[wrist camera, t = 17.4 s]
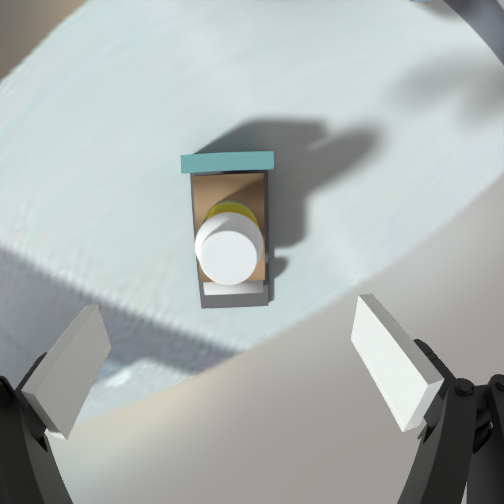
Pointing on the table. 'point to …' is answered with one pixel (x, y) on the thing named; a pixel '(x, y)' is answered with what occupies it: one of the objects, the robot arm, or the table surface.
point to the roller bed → (259, 163)
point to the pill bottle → (229, 242)
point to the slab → (231, 188)
